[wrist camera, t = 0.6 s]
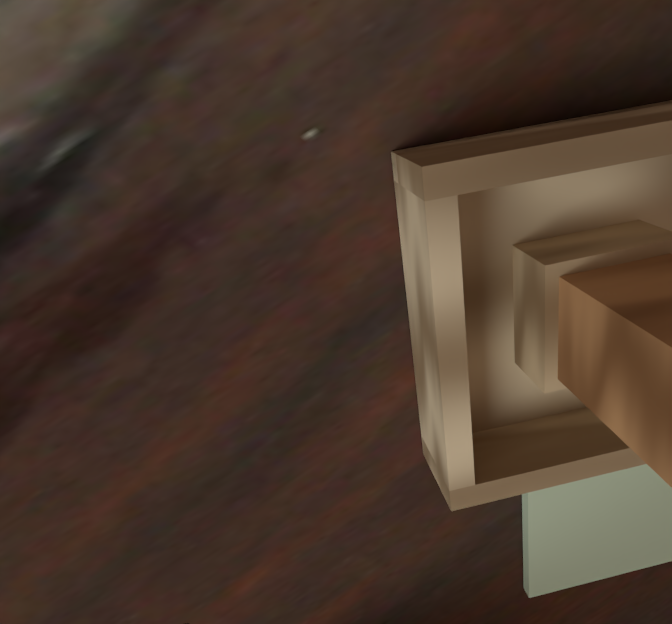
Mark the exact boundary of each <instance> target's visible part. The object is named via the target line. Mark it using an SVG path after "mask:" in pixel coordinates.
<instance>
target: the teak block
mask: <svg viewBox="0 0 672 624" xmlns="http://www.w3.org/2000/svg"><path fill="white" fill-rule="evenodd" d="M558 380H559V381H560V382H561V383H562V384H563V385H564V386H565V387H567V388H568V389H569V390H570V391H571V392H572V393H573V394H574V395H575V396H576V397H577V398H578V399H579V400H580V401H581V402H582V403H583V404H584V405H585V406H586V407H588V408H589V409H590V410H591V411H592V412H593V413H594V414H595V415H596V416H597V417H598V418H599V419H600V420H601V421H602V422H603V423H604V424H605V425H606V426H607V427H609V428H610V429H611V430H612V431H613V432H614V433H615V434H616V435H617V436H618V437H619V438H620V439H621V440H622V441H623V442H624V443H625V444H626V445H627V446H628V447H630V448H631V449H632V450H633V451H634V452H635V453H636V454H637V455H638V456H639V457H640V458H641V459H642V460H643V461H644V462H645V463H646V464H647V465H648V466H649V467H651V468H652V469H653V470H654V471H655V472H656V473H657V474H658V475H659V476H660V477H661V478H662V479H663V480H664V481H665V482H666V483H667V484H668V485H669V486H670V487H672V254H666V255H661V256H656V257H651V258H646V259H642V260H637V261H632V262H627V263H622V264H618V265H613V266H608V267H603V268H598V269H594V270H589V271H584V272H579V273H574V274H570V275H565V276H560V277H559V321H558Z"/></svg>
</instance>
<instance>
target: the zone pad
mask: <svg viewBox="0 0 672 624" xmlns="http://www.w3.org/2000/svg"><path fill="white" fill-rule="evenodd" d="M522 526H523V587H524V590H525V592H526V594H527V595H528V597H529V598H531V597H535V596H539V595H543V594H547V593H551V592H555V591H558V590H562V589H566V588H570V587H574V586H578V585H582V584H585V583H589V582H593V581H597V580H601V579H605V578H608V577H612V576H616V575H620V574H624V573H628V572H632V571H635V570H639V569H643V568H647V567H651V566H655V565H658V564H662V563H666V562H670V561H672V487H670V486H669V485H668V484H667V483H666V482H665V481H664V480H663V479H662V478H661V477H660V476H659V475H658V474H657V473H656V472H655V471H654V470H653V469H652V468H651V467H649V466H648V465H647V464H644V465H640V466H636V467H632V468H628V469H624V470H619V471H615V472H611V473H607V474H603V475H599V476H595V477H591V478H586V479H582V480H578V481H574V482H570V483H566V484H562V485H558V486H553V487H549V488H545V489H541V490H537V491H533V492H529V493H525V494H522Z"/></svg>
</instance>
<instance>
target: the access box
mask: <svg viewBox="0 0 672 624" xmlns="http://www.w3.org/2000/svg"><path fill="white" fill-rule="evenodd" d="M391 157H392V166H393V175H394V185H395V194H396V203H397V213H398V222H399V231H400V240H401V250H402V259H403V268H404V278H405V287H406V296H407V306H408V315H409V324H410V334H411V343H412V352H413V362H414V371H415V380H416V390H417V399H418V408H419V418H420V427H421V436H422V445H423V454H424V456H425V458H426V460H427V463H428V465H429V467H430V469H431V471H432V473H433V475H434V477H435V479H436V481H437V483H438V485H439V487H440V489H441V491H442V493H443V495H444V497H445V499H446V501H447V503H448V506H449V508H450V510H451V511H455V510H459V509H463V508H467V507H471V506H475V505H479V504H483V503H488V502H492V501H496V500H500V499H504V498H508V497H512V496H516V495H521V494H525V493H529V492H533V491H537V490H541V489H545V488H549V487H553V486H558V485H562V484H566V483H570V482H574V481H578V480H582V479H586V478H591V477H595V476H599V475H603V474H607V473H611V472H615V471H619V470H624V469H628V468H632V467H636V466H640V465H644V464H646V463H645V462H644V461H643V460H642V459H641V458H640V457H639V456H638V455H637V454H636V453H635V452H634V451H633V450H632V449H631V448H630V447H628V446H627V445H626V444H625V443H624V442H623V441H622V440H621V439H620V438H619V437H618V436H617V435H616V434H615V433H614V432H613V431H612V430H611V429H610V428H609V427H607V426H606V425H605V424H604V423H603V422H602V421H601V420H600V419H599V418H598V417H597V416H596V415H595V414H594V413H593V412H592V411H591V410H590V409H589V408H588V407H586V406H585V405H584V404H583V403H582V402H581V401H580V400H579V399H578V398H577V397H576V396H575V395H574V394H573V393H572V392H571V391H570V390H569V389H568V388H567V387H565V386H564V385H563V384H562V383H561V382H560V381H559V380H558V321H559V277H560V276H565V275H570V274H574V273H579V272H584V271H589V270H594V269H598V268H603V267H608V266H613V265H618V264H622V263H627V262H632V261H637V260H642V259H646V258H651V257H656V256H661V255H666V254H672V100H670V101H664V102H659V103H653V104H648V105H642V106H637V107H631V108H626V109H620V110H615V111H609V112H604V113H599V114H593V115H588V116H582V117H577V118H571V119H566V120H560V121H555V122H549V123H544V124H538V125H533V126H527V127H522V128H516V129H511V130H506V131H500V132H495V133H489V134H484V135H478V136H473V137H467V138H462V139H456V140H451V141H445V142H440V143H434V144H429V145H423V146H418V147H413V148H407V149H402V150H396V151H391Z"/></svg>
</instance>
